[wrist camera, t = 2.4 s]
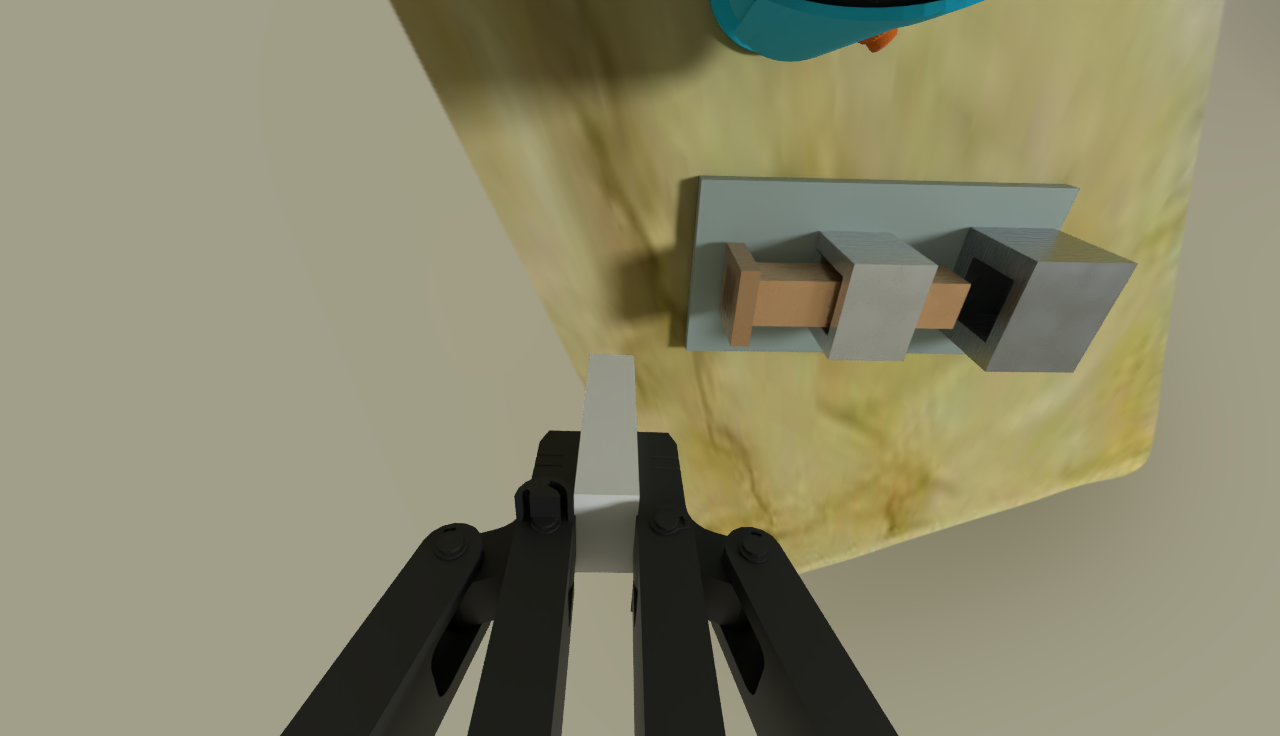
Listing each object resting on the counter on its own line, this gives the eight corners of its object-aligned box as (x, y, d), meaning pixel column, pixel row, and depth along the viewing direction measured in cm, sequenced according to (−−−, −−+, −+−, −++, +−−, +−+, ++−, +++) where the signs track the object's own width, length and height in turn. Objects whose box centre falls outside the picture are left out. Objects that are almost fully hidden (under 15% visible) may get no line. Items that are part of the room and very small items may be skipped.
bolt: (726, 242, 34) (741, 271, 29) (941, 246, 34) (987, 275, 30) (718, 311, 37) (730, 346, 32) (917, 314, 37) (955, 349, 33)
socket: (969, 226, 34) (1038, 261, 29) (1053, 228, 35) (1138, 263, 29) (932, 323, 39) (985, 371, 33) (1007, 324, 39) (1073, 372, 33)
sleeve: (819, 230, 34) (854, 264, 29) (889, 232, 35) (938, 265, 29) (800, 316, 38) (828, 359, 33) (864, 317, 38) (903, 360, 33)
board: (699, 175, 33) (701, 179, 32) (1066, 184, 34) (1080, 188, 33) (684, 343, 40) (686, 350, 39) (989, 347, 41) (999, 354, 40)
